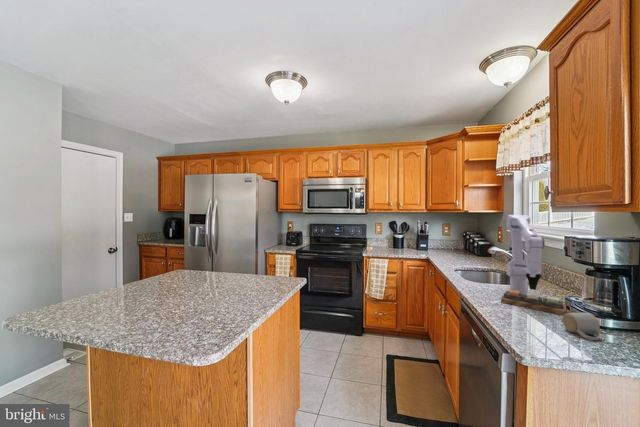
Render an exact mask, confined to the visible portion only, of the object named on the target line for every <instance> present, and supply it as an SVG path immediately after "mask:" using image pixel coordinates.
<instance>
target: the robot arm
mask: <svg viewBox="0 0 640 427" xmlns="http://www.w3.org/2000/svg"><path fill="white" fill-rule="evenodd" d="M530 224H531V217H530V216H529V215H528V214H526V215H525V214H508V215H507V216H506V229H507V231H509V232H510V236H511V237H510V238H511V253H512V254H511V255H512V260H510V261H509V262H507V264H506V265H507V266H506V274H507V276H508V277H509V289H510V290H516V291H520V293H521V294H523V295H524V294H525V295H527V293H529V289H530V290H534V291H535V290H537V287H538V282H539V281H540V279H541V278H542V275H541V274H542V273H543V272H542V259H543V258H542V257H543V255H542V254H543V249H544V248H545V246H546V242H545V241H546V240H545V239H544V237H543V236H539V235H538V233H537V232H536V230H535V229H534V228H532V227H531V225H530ZM522 237H523V238H522ZM522 239H524V241H525V242H524V246H525V252H526V261H525V260H524V253H523V252H524V251H523V240H522Z"/></svg>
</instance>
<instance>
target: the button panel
mask: <svg viewBox="0 0 640 427" xmlns="http://www.w3.org/2000/svg"><path fill="white" fill-rule="evenodd" d="M500 303H502V304H505V305H512V306H516V307H521V308H526V309H531V310H536V311H540V312H545V313H549V314H556V315H560V316H563V315H564V314H566V313H567V310H566V309H567V308H566V306H567V305H566V304H565V303H564V301H563V300H560V299H559V304H558V303H553V302H547V297H541V296H539V299H538V300H537V299H531V298H527V295H525V294H524V295H523V294H521V293H520V296H515V295H510V294H508V290H506V291H505V292H504V294H503V295H502V297H501V298H500Z"/></svg>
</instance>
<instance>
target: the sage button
mask: <svg viewBox="0 0 640 427" xmlns="http://www.w3.org/2000/svg"><path fill="white" fill-rule="evenodd" d="M546 298H547V302H553V303H558V304H559V300H560V298H559V297H554V296H549V295H547V296H546Z"/></svg>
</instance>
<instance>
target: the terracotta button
mask: <svg viewBox="0 0 640 427" xmlns="http://www.w3.org/2000/svg"><path fill="white" fill-rule="evenodd" d="M507 291H508V294H510V295H515V296H520V291H516V290H510V288H509V289H508V290H507Z"/></svg>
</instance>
